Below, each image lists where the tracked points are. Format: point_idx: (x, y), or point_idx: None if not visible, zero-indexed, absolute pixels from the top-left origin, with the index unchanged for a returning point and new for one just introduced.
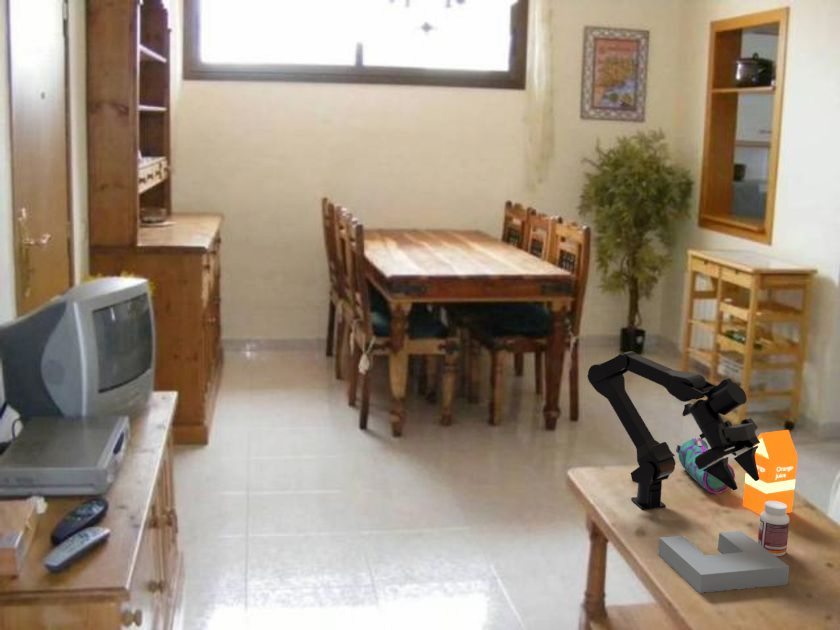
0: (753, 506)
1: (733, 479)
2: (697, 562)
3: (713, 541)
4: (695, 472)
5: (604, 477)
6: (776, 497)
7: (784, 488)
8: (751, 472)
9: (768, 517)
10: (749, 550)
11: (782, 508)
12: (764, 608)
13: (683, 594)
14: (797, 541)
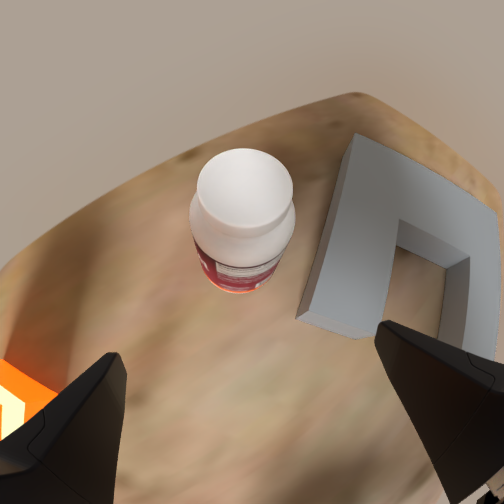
0: None
1: (422, 343)
2: (489, 244)
3: (326, 381)
4: None
5: None
6: (7, 382)
7: None
8: (109, 415)
9: (290, 204)
10: (382, 215)
11: (257, 151)
12: (421, 149)
13: None
14: (126, 257)
